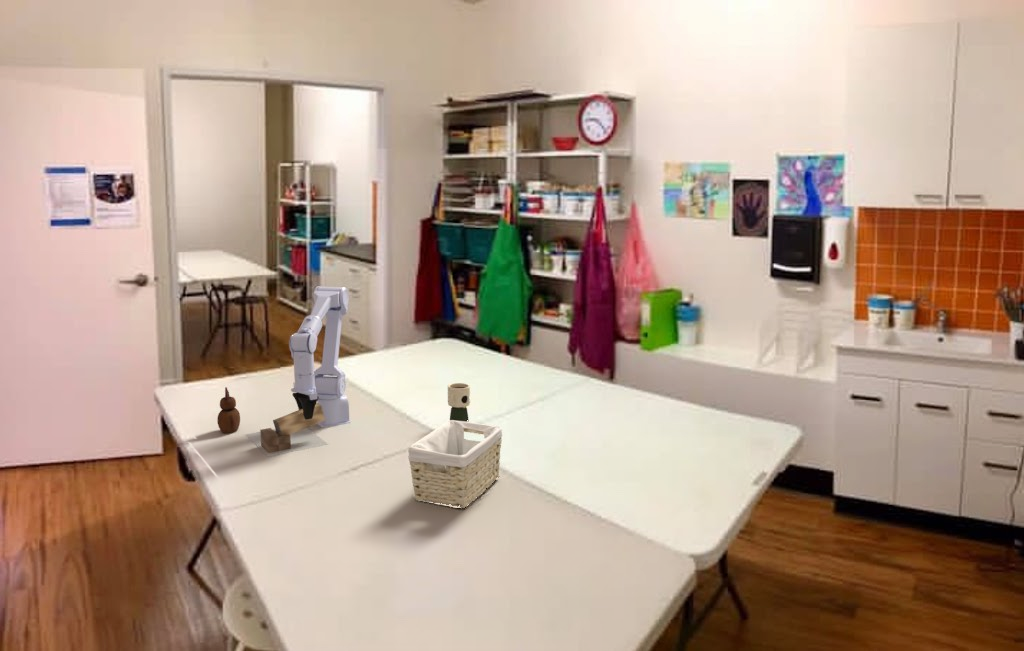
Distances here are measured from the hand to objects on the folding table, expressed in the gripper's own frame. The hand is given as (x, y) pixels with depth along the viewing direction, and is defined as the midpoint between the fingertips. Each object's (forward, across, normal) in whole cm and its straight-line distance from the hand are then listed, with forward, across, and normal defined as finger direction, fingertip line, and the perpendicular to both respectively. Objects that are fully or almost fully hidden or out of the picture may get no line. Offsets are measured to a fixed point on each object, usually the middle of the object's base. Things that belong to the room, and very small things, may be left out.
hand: (306, 417), depth 236 cm
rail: (+3, 0, -2) cm, 3 cm away
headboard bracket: (+8, 0, -9) cm, 12 cm away
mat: (+8, -5, -5) cm, 11 cm away
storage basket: (+8, +55, +19) cm, 59 cm away
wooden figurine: (+8, -22, -17) cm, 29 cm away
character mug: (+8, +11, +46) cm, 48 cm away
